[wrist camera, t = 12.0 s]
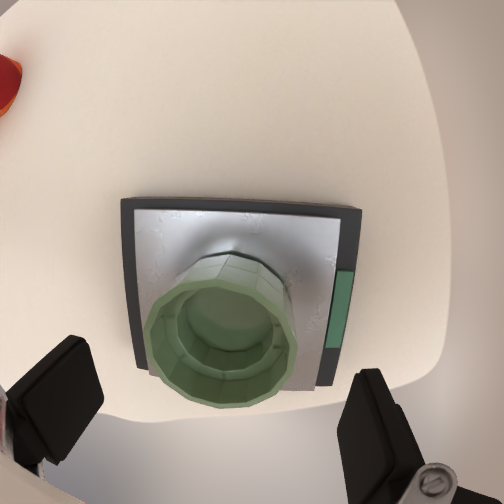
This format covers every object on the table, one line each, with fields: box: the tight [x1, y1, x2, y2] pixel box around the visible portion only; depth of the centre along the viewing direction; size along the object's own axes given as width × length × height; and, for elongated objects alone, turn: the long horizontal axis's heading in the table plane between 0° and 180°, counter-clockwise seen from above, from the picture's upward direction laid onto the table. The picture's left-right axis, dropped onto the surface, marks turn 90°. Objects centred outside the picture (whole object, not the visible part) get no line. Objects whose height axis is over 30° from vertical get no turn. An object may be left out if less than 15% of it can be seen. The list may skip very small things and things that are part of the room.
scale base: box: [121, 197, 362, 386], centre depth 18 cm, size 14×12×2 cm
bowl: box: [143, 254, 298, 409], centre depth 14 cm, size 7×7×4 cm
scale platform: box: [134, 208, 341, 391], centre depth 16 cm, size 11×11×1 cm
